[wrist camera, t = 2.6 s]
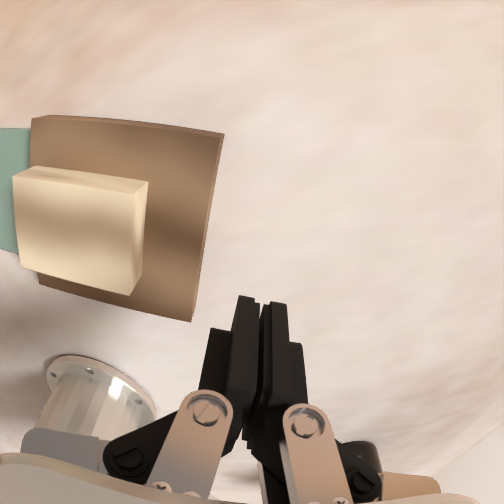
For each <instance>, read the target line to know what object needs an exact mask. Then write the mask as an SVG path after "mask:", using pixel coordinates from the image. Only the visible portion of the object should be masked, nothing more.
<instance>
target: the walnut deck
mask: <svg viewBox="0 0 504 504" xmlns="http://www.w3.org/2000/svg"><path fill="white" fill-rule="evenodd" d="M223 139H224V134H222V133H216V132H210V131H204V130H198V129H192V128H186V127H179V126H172V125H164V124H157V123H148V122H140V121H130V120H120V119H109V118H97V117H82V116H61V115H47V116H42V117H37V118H32V121H31V138H30V168H31V167H33V166H42V167H51V168H59V169H66V170H74V171H81V172H89V173H96V174H103V175H109V176H116V177H123V178H129V179H135V180H142V181H148V191H147V201H146V213H145V225H144V240H143V258H142V275H141V277H140V278H139V280H138V282H137V284H136V285H135V287H134V289H133V291H132V292H131V294H130V296H127V295H123V294H119V293H115V292H111V291H107V290H103V289H99V288H95V287H91V286H87V285H83V284H80V283H76V282H72V281H68V280H65V279H61V278H58V277H54V276H50V275H47V274H44V273H40V272H38V278H39V284H41V285H44V286H47V287H51V288H54V289H58V290H61V291H64V292H68V293H71V294H75V295H79V296H82V297H86V298H89V299H93V300H97V301H101V302H105V303H108V304H112V305H116V306H120V307H124V308H128V309H133V310H137V311H141V312H145V313H150V314H154V315H158V316H163V317H168V318H172V319H177V320H182V321H186V322H191V320H192V316H193V313H194V309H195V305H196V299H197V292H198V285H199V278H200V271H201V265H202V258H203V252H204V245H205V239H206V233H207V227H208V221H209V215H210V209H211V203H212V198H213V192H214V186H215V181H216V175H217V170H218V165H219V159H220V154H221V149H222V144H223Z"/></svg>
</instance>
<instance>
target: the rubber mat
mask: <svg viewBox="0 0 504 504" xmlns="http://www.w3.org/2000/svg"><path fill="white" fill-rule="evenodd" d="M30 138H31V129H22V128H0V249H3V250H6V251H9V252H13V253H16V254H19V249H18V242H17V234H16V224H15V214H14V200H13V179H12V176H14V175H16V174H18V173H20V172H22V171H24V170H27V169H29V168H30Z"/></svg>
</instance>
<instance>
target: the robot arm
mask: <svg viewBox="0 0 504 504" xmlns="http://www.w3.org/2000/svg"><path fill="white" fill-rule="evenodd" d="M259 316H260V303H255V299H254V298H251V297H246V296H241V295H239V297H238V301H237V306H236V310H235V314H234V319H233V323H232V327H231V331H226V330H221V329H215V328H211V329H210V334H209V339H208V344H207V348H206V353H205V358H204V363H203V368H202V373H201V378H200V383H199V388H198V390H197V391H194V392H191V393H190V394H188V395H187V396H186V397H185V398H184V400H183V401H182V403H181V405H180V408H179V410H177V411H175V412H173V413H171V414H169V415H167V416H165V417H163V418H161V419H158V420H156V421H155V419H156V408H155V406H154V403H153V401H152V400H151V398H150V397H149V395H148V394H147V393H146V392H145V391H144V390H143V389H142V388H141V387H140V386H139V385H138V384H137V383H136V382H135V381H133V380H132V379H131V378H129V377H128V376H126V375H125V374H123V373H122V372H120V371H118V370H116V369H115V368H113V367H111V366H109V365H106V364H104V363H102V362H99V361H96V360H93V359H91V358H86V357H82V356H71V355H68V356H61V357H59V358H57V359H55V360H54V361H53V362H52V363H51V364H50V366H49V368H48V369H47V372H46V382H47V385H48V387H49V390H50V391H51V395H50V397H49V399H48V401H47V403H46V405H45V407H44V409H43V411H42V413H41V415H40V417H39V419H38V421H37V423H36V425H35V427H34V429H32V430H29V431H28V432H27V433H26V434H25V436H24V438H23V441H22V445H21V451H20V453H3V454H0V504H246V503H236V502H227V501H219V500H212V499H208V497H209V494H210V491H211V487H212V484H213V481H214V478H215V474H216V471H217V468H218V465H219V461H220V458H221V457H223V456H225V455H226V454H228V453H229V452H231V451H232V449H233V446H234V444H235V441H236V439H238V437H239V434H240V432H241V429H242V440H245V441H247V449H251V454H252V455H253V456H254V457H255V458H256V459H257V460H258V464H257V466H258V473H259V480H260V487H261V494H262V501H263V504H480V503H479V502H477V501H475V500H474V499H472V498H469V497H466V496H462V495H458V494H450V493H447V494H446V493H441V490H440V486H439V484H438V483H437V481H436V480H434V479H433V478H431V477H428V476H417V475H407V474H399V473H391V472H383V473H377V472H376V471H375V470H374V469H373V468H372V467H370V466H369V465H368V464H366V463H365V462H364V461H362V460H361V459H360V458H359V457H357V456H356V455H355V454H354V453H352V452H351V451H350V450H348V449H347V448H346V447H345V446H343V445H342V444H341V443H340V442H339V441H337V440H336V439H335V438H334V435H333V432H332V428H331V425H330V422H329V420H328V418H327V416H326V414H325V413H324V412H323V411H322V410H320V409H319V408H317V407H316V406H313V405H310V404H308V396H307V386H306V376H305V366H304V357H303V348H302V345H301V343H295V342H289V329H288V315H287V305H286V304H283V303H278V302H272V301H271V302H270V304H269V305H266V304H264V306H263V309H262V312H261V316H260V319H259Z"/></svg>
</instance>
